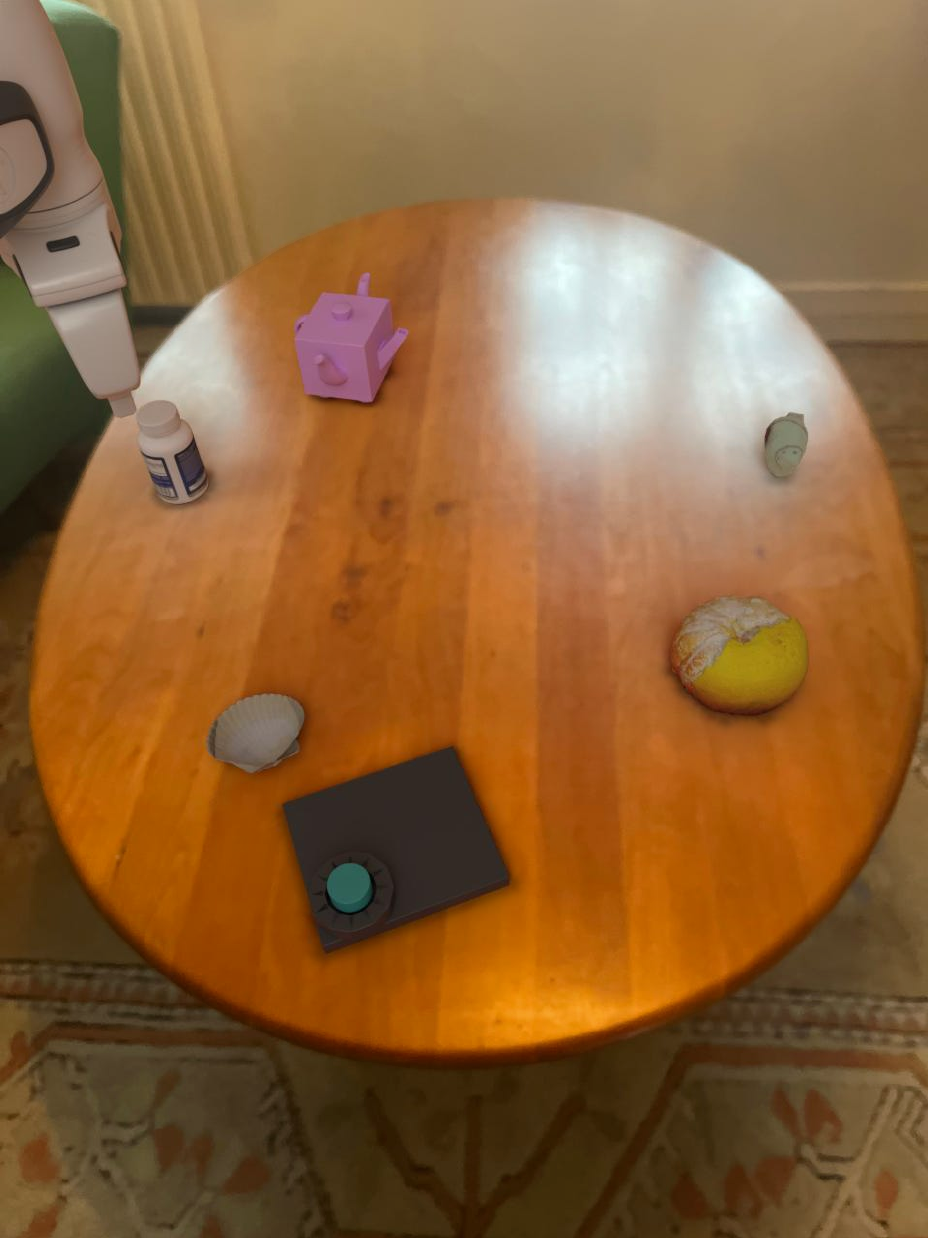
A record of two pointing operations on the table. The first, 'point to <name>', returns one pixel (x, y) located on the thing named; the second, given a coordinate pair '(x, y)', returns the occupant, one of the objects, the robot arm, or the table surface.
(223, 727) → the seashell
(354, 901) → the button
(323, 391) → the teapot
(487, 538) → the table surface
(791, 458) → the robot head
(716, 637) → the fruit
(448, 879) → the black button board
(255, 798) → the table surface
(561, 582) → the table surface
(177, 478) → the pill bottle
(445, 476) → the table surface
